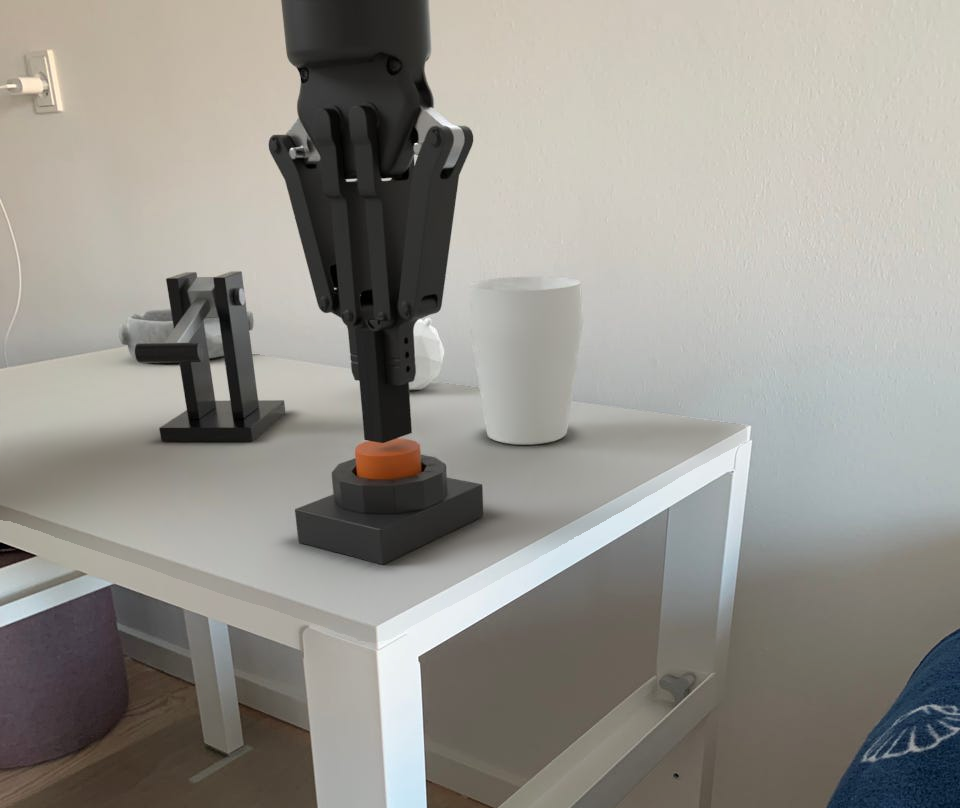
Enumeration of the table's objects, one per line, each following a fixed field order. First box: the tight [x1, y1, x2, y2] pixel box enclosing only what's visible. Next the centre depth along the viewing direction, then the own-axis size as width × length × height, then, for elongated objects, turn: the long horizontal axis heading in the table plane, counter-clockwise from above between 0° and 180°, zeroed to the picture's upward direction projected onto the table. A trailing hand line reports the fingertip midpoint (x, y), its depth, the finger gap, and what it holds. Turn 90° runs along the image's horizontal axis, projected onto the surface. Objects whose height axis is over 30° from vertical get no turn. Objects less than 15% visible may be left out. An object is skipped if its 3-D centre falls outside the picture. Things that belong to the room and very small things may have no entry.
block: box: [294, 454, 484, 565], centre depth 63 cm, size 10×7×4 cm
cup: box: [468, 276, 584, 446], centre depth 81 cm, size 9×9×12 cm
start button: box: [354, 437, 422, 479], centre depth 62 cm, size 4×4×2 cm
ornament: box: [409, 317, 446, 391], centre depth 99 cm, size 7×7×8 cm
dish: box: [118, 308, 255, 360], centre depth 121 cm, size 14×14×5 cm
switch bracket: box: [158, 270, 286, 443], centre depth 86 cm, size 10×8×13 cm
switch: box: [135, 276, 219, 364], centre depth 81 cm, size 12×5×2 cm, turn 174°
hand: (388, 436), depth 61 cm, fingers closed
